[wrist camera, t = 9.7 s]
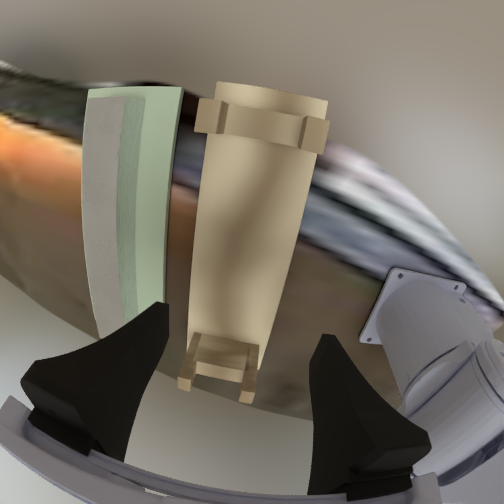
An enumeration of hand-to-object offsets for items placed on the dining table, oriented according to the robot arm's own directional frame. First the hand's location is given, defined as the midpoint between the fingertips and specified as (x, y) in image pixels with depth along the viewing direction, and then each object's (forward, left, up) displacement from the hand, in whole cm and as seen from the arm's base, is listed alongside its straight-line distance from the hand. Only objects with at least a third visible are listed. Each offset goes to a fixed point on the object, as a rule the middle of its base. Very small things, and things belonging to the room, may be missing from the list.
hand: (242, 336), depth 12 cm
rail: (+11, 0, -9) cm, 14 cm away
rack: (+1, 0, -9) cm, 9 cm away
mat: (+11, 0, -9) cm, 14 cm away
